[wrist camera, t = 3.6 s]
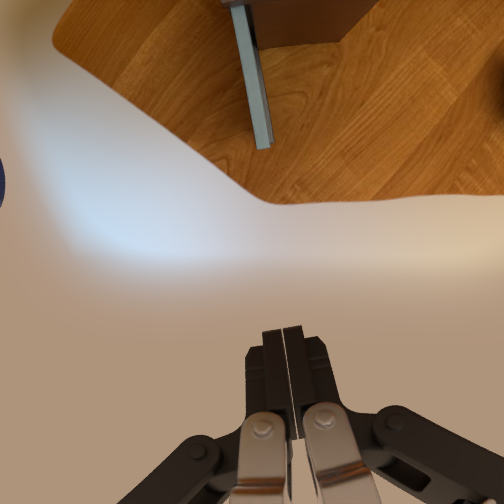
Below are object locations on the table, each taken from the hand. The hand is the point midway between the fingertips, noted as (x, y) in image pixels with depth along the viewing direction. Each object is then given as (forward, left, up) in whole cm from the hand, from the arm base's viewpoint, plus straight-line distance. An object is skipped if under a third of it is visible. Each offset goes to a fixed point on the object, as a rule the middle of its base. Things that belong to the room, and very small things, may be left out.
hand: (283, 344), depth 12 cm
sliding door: (0, +12, -20) cm, 24 cm away
